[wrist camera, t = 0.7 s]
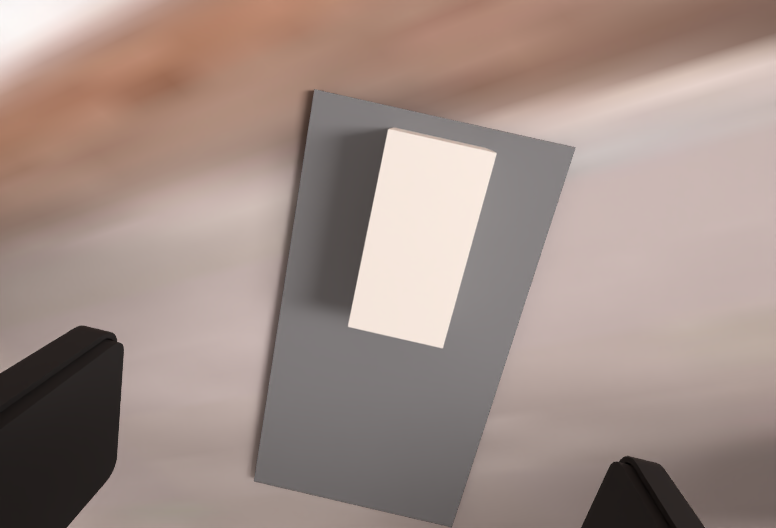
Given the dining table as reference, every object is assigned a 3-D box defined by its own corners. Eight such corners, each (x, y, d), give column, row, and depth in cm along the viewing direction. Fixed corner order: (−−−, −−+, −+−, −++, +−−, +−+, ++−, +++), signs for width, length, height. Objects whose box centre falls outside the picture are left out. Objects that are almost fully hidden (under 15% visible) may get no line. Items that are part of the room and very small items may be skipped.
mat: (572, 146, 25) (575, 147, 25) (451, 520, 33) (451, 527, 33) (317, 89, 25) (314, 89, 25) (257, 475, 33) (253, 481, 33)
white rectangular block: (486, 147, 25) (496, 152, 21) (440, 317, 28) (442, 348, 24) (394, 127, 25) (388, 128, 21) (358, 298, 28) (347, 326, 24)
